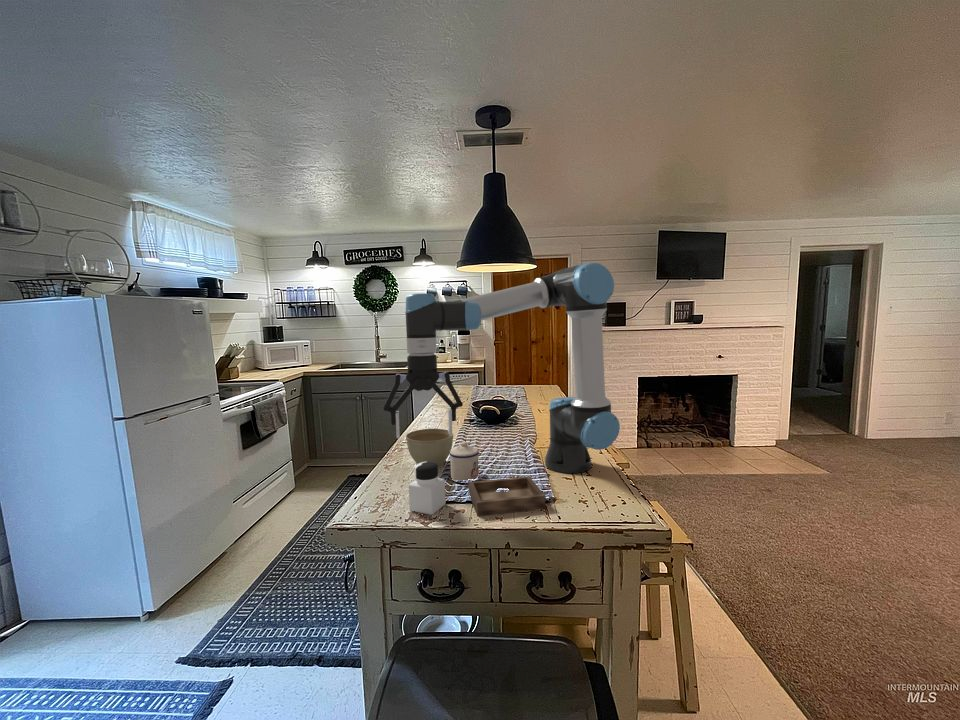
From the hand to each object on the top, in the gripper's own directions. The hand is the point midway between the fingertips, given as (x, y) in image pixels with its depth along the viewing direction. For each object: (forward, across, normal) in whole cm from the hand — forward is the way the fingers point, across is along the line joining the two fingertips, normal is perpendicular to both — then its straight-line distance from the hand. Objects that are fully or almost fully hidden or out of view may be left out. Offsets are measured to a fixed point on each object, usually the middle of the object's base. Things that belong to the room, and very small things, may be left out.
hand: (424, 435), depth 110 cm
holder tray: (+20, +21, -1) cm, 29 cm away
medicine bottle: (+20, 0, 0) cm, 20 cm away
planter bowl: (+20, +3, +33) cm, 39 cm away
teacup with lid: (+20, +13, +19) cm, 30 cm away
